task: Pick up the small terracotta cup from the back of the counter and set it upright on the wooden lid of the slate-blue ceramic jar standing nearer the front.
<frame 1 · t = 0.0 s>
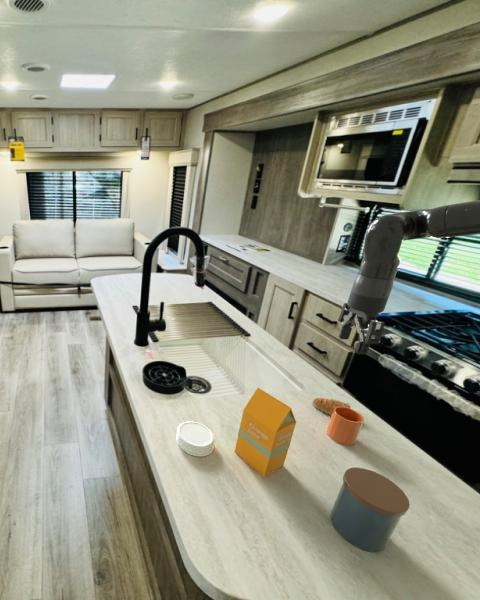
hand: (351, 345, 88), 25 cm above the counter, tool pointing down, fingers open, 8 cm apart
white round tub: (194, 443, 88), on the counter
cup: (340, 436, 89), on the counter
jar: (356, 528, 66), on the counter
orange juice: (258, 459, 83), on the counter
pastry: (332, 412, 98), on the counter
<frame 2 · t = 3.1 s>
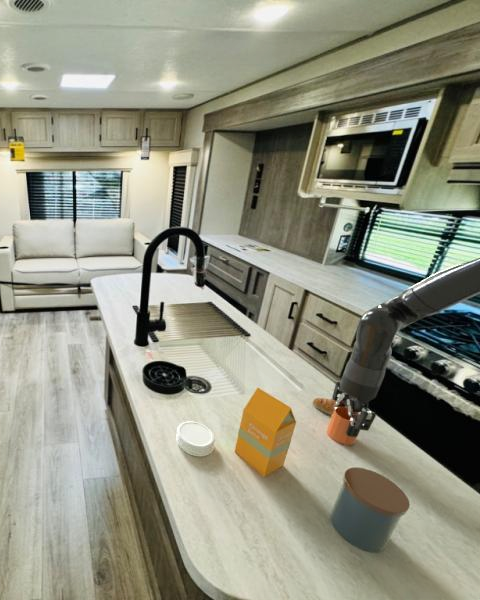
hand: (343, 426, 88), 4 cm above the counter, tool pointing down, fingers closed on cup, 6 cm apart
cup: (340, 436, 89), on the counter, touching gripper
everything else where it was.
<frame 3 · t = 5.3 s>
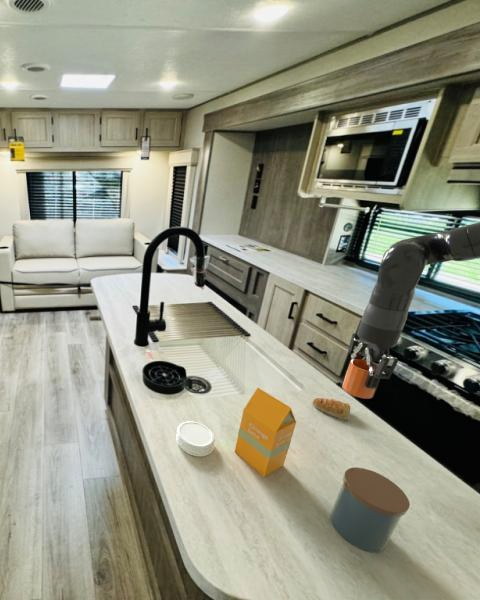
hand: (361, 379, 82), 20 cm above the counter, tool pointing down, fingers closed on cup, 6 cm apart
cup: (357, 390, 83), point 16 cm above the counter, touching gripper
everything else where it was.
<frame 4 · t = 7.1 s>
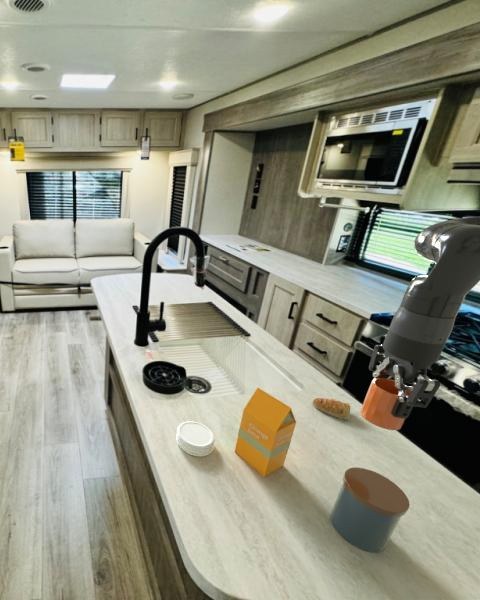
hand: (386, 404, 64), 26 cm above the counter, tool pointing down, fingers closed on cup, 6 cm apart
cup: (380, 418, 65), point 22 cm above the counter, touching gripper
everything else where it was.
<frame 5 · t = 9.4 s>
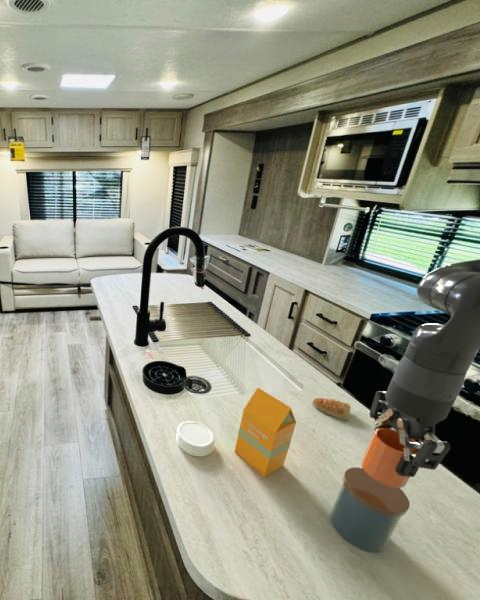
hand: (389, 458, 58), 20 cm above the counter, tool pointing down, fingers closed on cup, 6 cm apart
cup: (383, 472, 60), point 17 cm above the counter, touching gripper
everything else where it was.
when the fingers open (16 cm above the counter, at t = 11.3 s): cup stays where it is, resting on jar.
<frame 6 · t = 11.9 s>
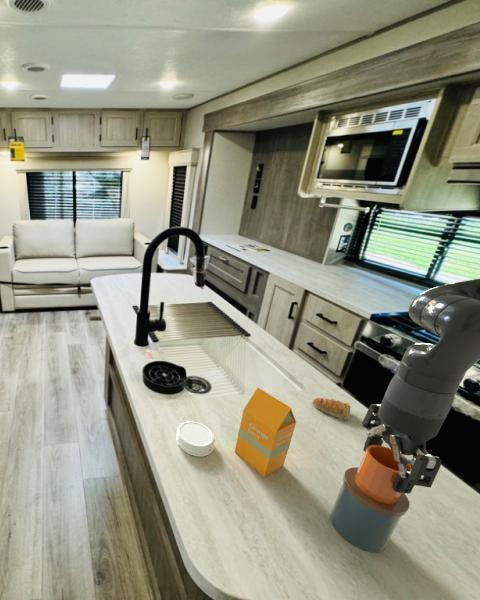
hand: (383, 470, 60), 17 cm above the counter, tool pointing down, fingers open, 8 cm apart
cup: (375, 488, 61), point 12 cm above the counter, touching jar
jar: (356, 528, 66), on the counter, touching cup
everything else where it was.
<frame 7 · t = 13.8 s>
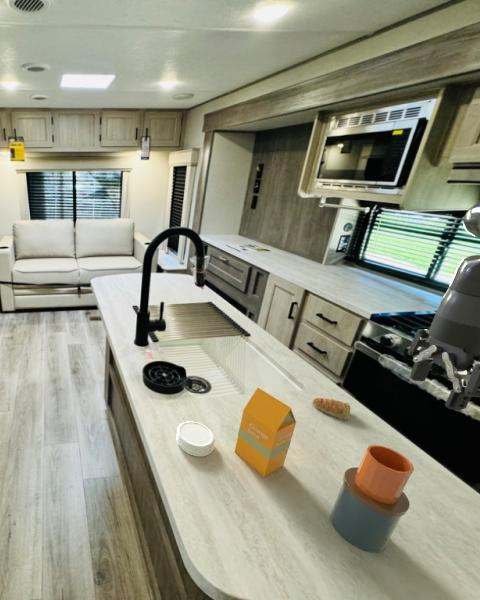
hand: (433, 393, 60), 31 cm above the counter, tool pointing down, fingers open, 8 cm apart
nothing on the counter moved.
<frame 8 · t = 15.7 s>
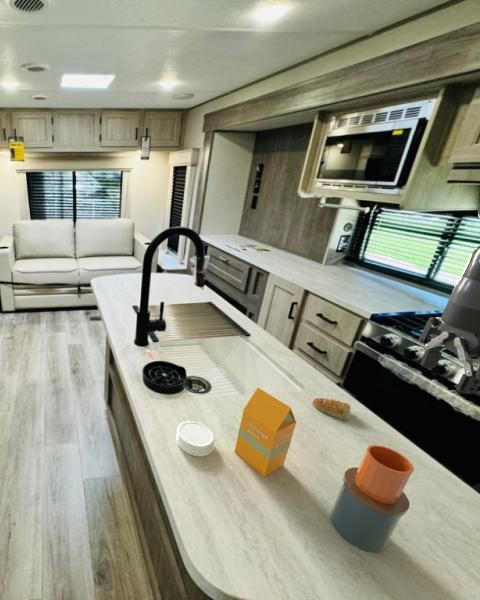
hand: (444, 378, 62), 32 cm above the counter, tool pointing down, fingers open, 8 cm apart
nothing on the counter moved.
at the end: cup 0.0 cm off-centre on the jar, point 12.2 cm above the jar's base; cup tilted 0°; the gripper is holding nothing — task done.
